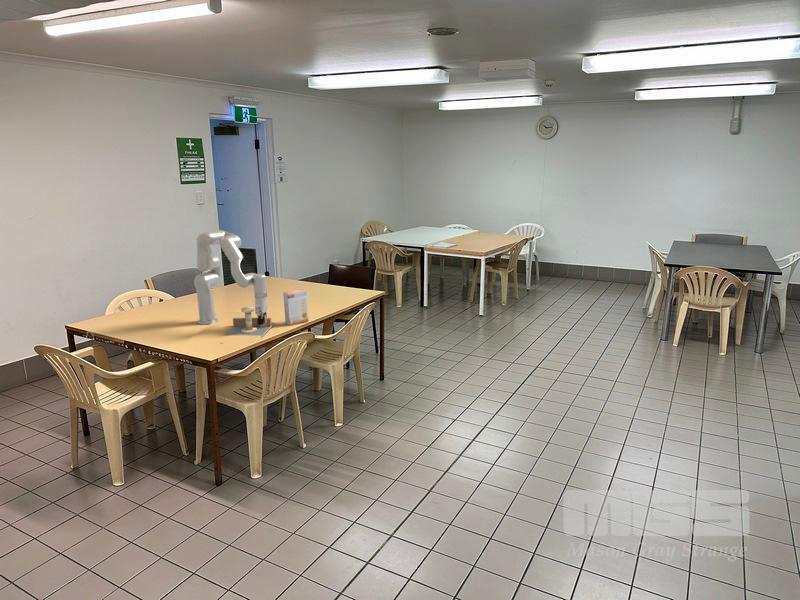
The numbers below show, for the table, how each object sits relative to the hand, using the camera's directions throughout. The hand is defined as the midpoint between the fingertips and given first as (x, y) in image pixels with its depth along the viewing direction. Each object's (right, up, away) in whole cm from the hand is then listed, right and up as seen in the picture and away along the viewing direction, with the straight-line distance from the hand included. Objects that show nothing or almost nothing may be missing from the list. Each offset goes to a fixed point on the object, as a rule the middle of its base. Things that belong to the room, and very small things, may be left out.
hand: (262, 322), depth 332 cm
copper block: (0, -2, +1) cm, 2 cm away
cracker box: (+19, -1, +13) cm, 23 cm away
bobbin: (-6, -5, -10) cm, 12 cm away
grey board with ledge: (-7, -6, -7) cm, 12 cm away
